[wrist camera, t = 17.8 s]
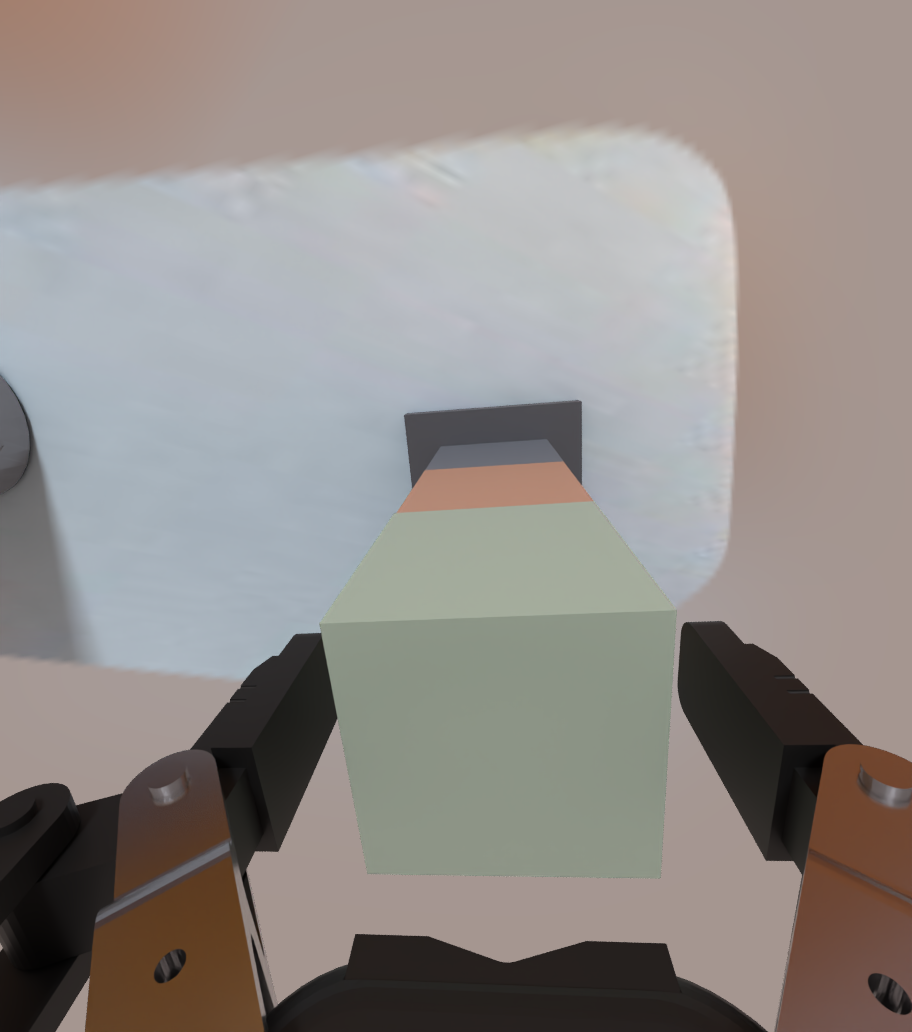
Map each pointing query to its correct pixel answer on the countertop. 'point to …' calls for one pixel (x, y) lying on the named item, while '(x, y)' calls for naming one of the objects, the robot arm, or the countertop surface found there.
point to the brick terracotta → (494, 487)
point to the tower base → (495, 437)
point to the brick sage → (504, 695)
